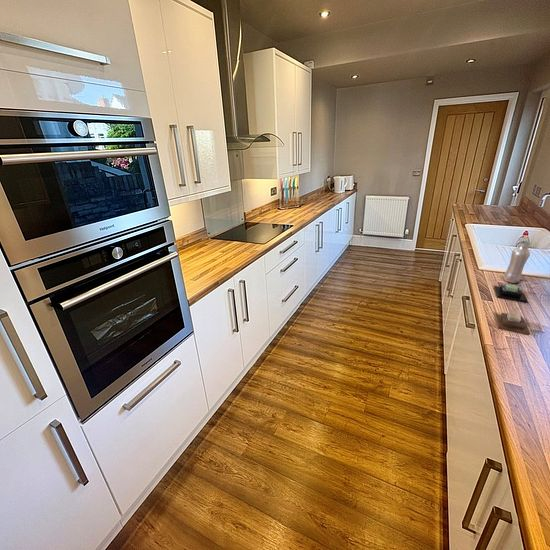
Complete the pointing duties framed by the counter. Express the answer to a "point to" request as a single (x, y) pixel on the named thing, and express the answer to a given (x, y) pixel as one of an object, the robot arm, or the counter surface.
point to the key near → (513, 317)
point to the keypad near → (511, 324)
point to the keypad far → (509, 294)
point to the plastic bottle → (517, 263)
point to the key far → (511, 288)
